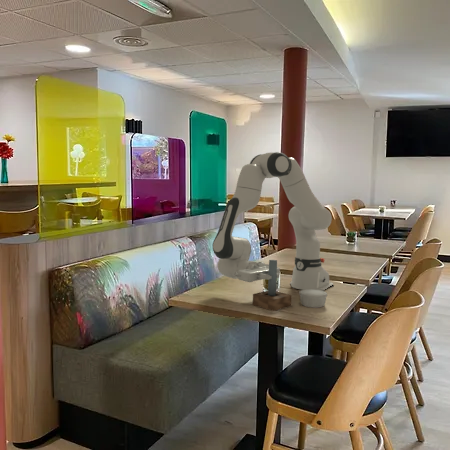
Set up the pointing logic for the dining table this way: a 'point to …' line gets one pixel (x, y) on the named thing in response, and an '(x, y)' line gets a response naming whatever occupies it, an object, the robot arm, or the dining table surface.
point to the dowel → (272, 281)
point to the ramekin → (313, 298)
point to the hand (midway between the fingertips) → (274, 276)
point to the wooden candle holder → (272, 300)
